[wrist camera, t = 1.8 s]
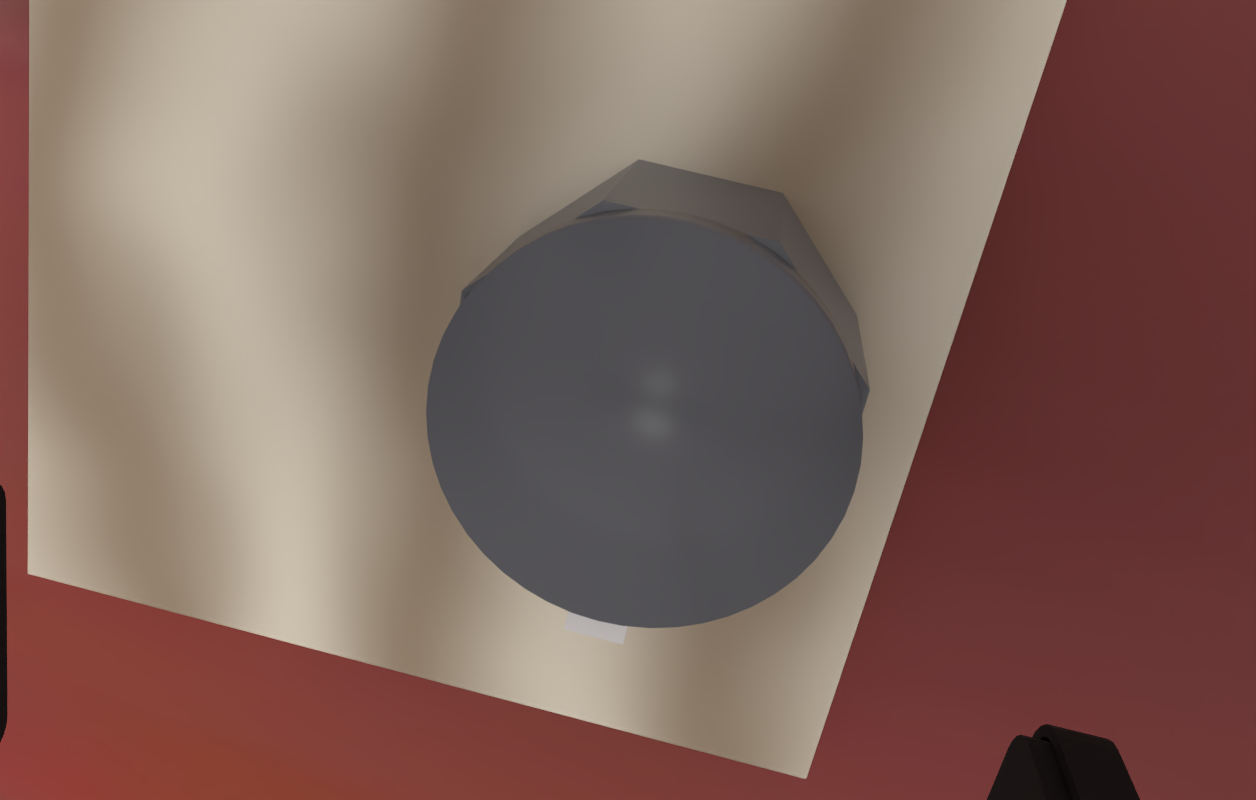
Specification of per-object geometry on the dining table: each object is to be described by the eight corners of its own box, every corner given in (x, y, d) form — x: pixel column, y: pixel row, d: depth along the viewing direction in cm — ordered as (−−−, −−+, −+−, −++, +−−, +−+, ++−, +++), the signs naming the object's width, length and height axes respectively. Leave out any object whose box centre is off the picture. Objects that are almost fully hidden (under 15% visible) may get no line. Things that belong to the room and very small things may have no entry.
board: (1288, -719, 16) (1555, -1099, 10) (805, 744, 25) (807, 958, 20) (82, -939, 17) (-272, -1393, 11) (60, 548, 26) (-136, 700, 21)
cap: (893, 213, 20) (920, 281, 15) (791, 553, 22) (789, 695, 18) (534, 129, 20) (459, 171, 16) (475, 473, 23) (397, 592, 18)
